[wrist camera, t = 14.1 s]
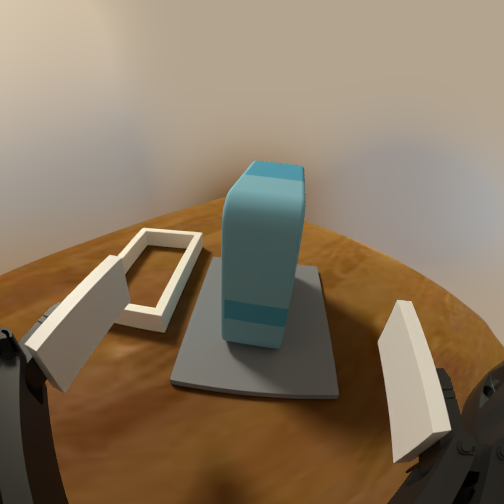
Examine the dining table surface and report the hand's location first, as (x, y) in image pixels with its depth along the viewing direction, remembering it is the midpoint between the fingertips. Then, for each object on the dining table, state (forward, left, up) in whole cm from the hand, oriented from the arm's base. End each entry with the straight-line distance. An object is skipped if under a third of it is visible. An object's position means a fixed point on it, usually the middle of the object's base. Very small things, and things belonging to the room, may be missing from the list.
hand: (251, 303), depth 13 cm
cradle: (+11, -13, -9) cm, 20 cm away
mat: (-1, -9, -9) cm, 13 cm away
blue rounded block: (-1, -10, -9) cm, 14 cm away
